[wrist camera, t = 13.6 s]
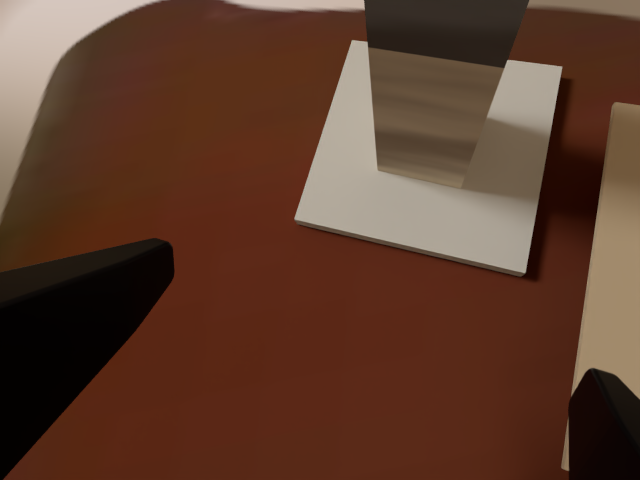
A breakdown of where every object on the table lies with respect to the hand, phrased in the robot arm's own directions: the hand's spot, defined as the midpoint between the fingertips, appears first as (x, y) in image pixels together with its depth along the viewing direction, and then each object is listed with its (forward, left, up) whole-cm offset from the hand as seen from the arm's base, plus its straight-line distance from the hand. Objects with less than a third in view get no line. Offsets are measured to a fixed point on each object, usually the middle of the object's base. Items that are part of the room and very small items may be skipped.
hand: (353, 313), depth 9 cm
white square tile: (+11, 0, -13) cm, 18 cm away
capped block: (+11, 0, -13) cm, 17 cm away
